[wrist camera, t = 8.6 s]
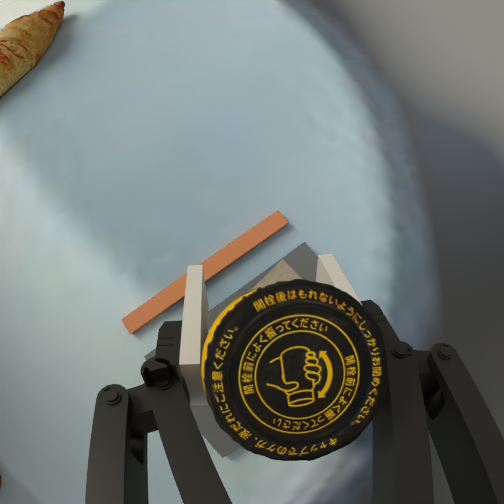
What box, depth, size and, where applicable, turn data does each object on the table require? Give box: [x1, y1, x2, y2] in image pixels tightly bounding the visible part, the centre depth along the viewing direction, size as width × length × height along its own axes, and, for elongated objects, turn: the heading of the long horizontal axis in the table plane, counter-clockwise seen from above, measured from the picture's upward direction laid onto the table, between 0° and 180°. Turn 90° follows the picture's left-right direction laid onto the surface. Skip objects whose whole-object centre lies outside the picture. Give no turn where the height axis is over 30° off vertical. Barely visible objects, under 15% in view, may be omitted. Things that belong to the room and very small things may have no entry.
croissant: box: [0, 1, 65, 96], centre depth 26 cm, size 21×10×8 cm, turn 165°
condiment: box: [201, 259, 388, 461], centre depth 14 cm, size 7×8×12 cm
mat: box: [144, 242, 318, 458], centre depth 21 cm, size 9×14×1 cm, turn 127°
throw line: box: [122, 210, 288, 334], centre depth 23 cm, size 1×14×1 cm, turn 127°
